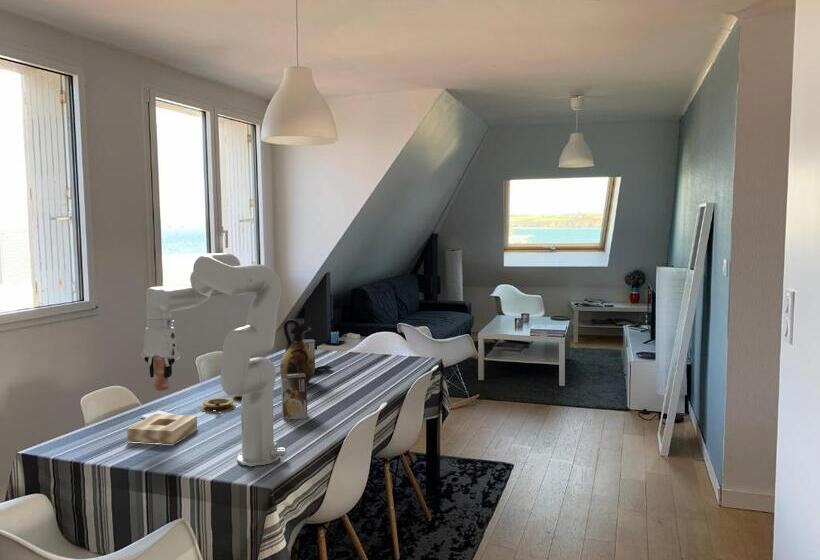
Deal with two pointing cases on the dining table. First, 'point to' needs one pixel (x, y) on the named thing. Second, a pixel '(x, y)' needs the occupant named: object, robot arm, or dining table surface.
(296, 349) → the ceramic jug
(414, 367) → the dining table surface
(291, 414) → the coffee box
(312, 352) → the milk frother
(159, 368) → the peg
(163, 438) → the socket block
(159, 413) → the external hard drive
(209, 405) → the tableware set
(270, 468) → the dining table surface
